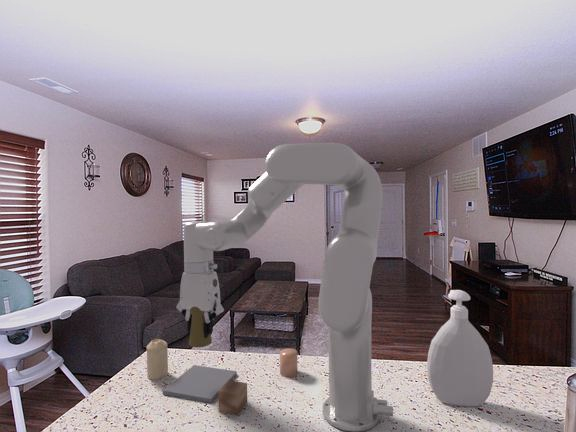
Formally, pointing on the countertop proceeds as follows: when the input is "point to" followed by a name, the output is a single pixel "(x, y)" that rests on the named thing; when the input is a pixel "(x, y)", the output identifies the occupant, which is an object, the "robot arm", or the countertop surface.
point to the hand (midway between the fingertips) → (200, 334)
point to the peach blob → (288, 362)
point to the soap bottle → (460, 359)
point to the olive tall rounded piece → (198, 329)
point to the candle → (157, 359)
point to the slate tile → (200, 383)
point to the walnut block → (232, 397)
